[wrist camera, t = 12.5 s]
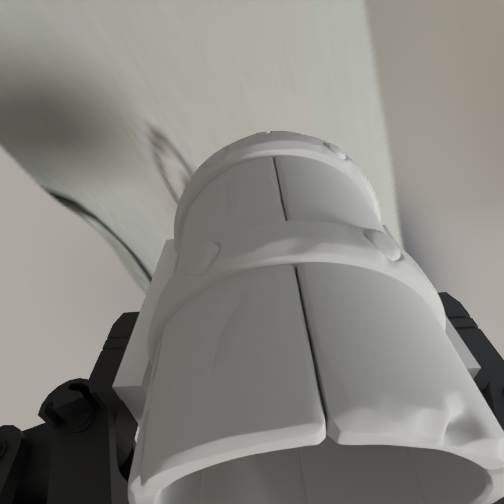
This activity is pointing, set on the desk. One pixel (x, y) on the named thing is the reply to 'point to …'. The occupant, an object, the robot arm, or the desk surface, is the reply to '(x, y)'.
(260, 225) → the mug
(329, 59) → the desk surface
